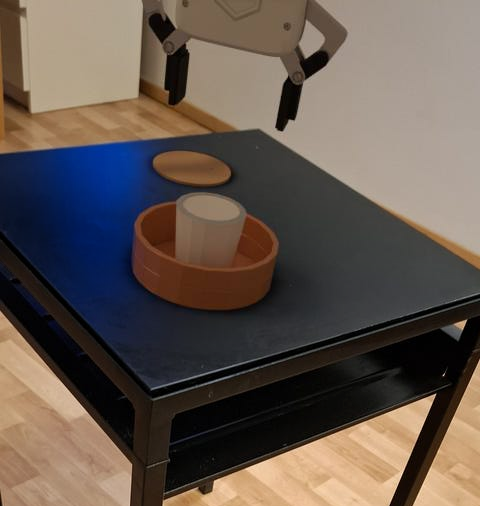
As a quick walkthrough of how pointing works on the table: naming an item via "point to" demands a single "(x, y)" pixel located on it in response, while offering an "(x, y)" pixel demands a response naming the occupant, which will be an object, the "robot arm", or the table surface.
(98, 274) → the table surface
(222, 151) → the table surface
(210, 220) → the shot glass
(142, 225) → the pan
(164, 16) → the robot arm
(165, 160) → the coaster
